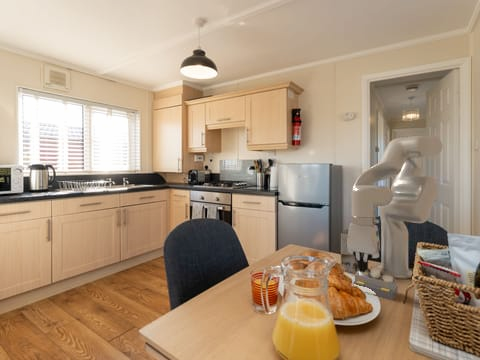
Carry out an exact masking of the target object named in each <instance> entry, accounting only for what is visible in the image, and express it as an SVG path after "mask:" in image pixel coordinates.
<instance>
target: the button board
mask: <svg viewBox="0 0 480 360" xmlns="http://www.w3.org/2000/svg"><path fill="white" fill-rule="evenodd" d="M397 281H398V280H397V278H393V283H389V282H385V281H383V275H380V279H378V280H377V279H374V278H371V277H370V272H368V276H367V277H366V276H362V275H359V270H358V271H357V273H354V281H353V285H354V284H356V285H359V286H363V287H367V288H369V289H371V290H372V291H374V292H375V293H376V295H377V296H376V295H375V296H376V297H379V298H384V299H386V300H390V301H393V300H394V298H395V297H396V296H397V294H398V293H399V291H398V290H399V288H398V284H397V283H398V282H397Z"/></svg>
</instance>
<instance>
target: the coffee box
mask: <svg viewBox="0 0 480 360" xmlns="http://www.w3.org/2000/svg"><path fill="white" fill-rule="evenodd" d="M348 231H349V229H345V230H344V231H343V232H341V233H340V267H341V266H343V267H344V268H345V271H344V272H348V273H352V274H356V273H357V272H358V271H359V268H358V260H357V259H356V257H355V256H354V255H353V254H351V253H349V252H348V251H347V250H348V246H347V240H348Z"/></svg>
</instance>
